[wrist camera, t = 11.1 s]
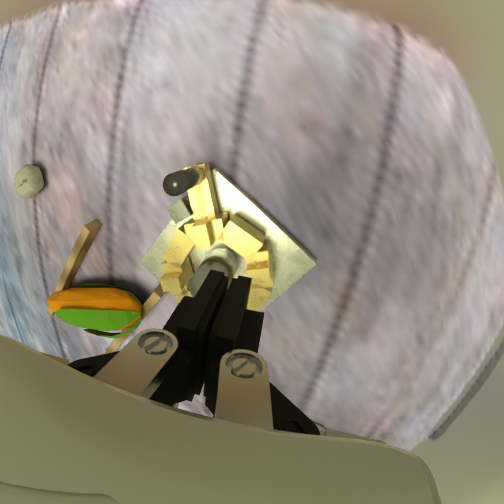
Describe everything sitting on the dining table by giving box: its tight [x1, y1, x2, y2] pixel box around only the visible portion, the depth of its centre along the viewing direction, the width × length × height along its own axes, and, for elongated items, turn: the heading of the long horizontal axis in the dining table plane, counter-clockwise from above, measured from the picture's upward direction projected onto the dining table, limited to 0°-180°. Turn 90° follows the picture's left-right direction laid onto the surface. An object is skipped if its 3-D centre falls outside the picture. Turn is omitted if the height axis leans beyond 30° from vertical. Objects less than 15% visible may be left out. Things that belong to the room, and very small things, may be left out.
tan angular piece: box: [159, 163, 275, 311], centre depth 30 cm, size 18×12×8 cm
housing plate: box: [140, 168, 316, 312], centre depth 33 cm, size 16×17×8 cm
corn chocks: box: [47, 220, 165, 354], centre depth 40 cm, size 22×14×3 cm, turn 138°
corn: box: [47, 284, 143, 338], centre depth 38 cm, size 7×8×20 cm
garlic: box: [15, 164, 44, 198], centre depth 33 cm, size 6×5×5 cm
